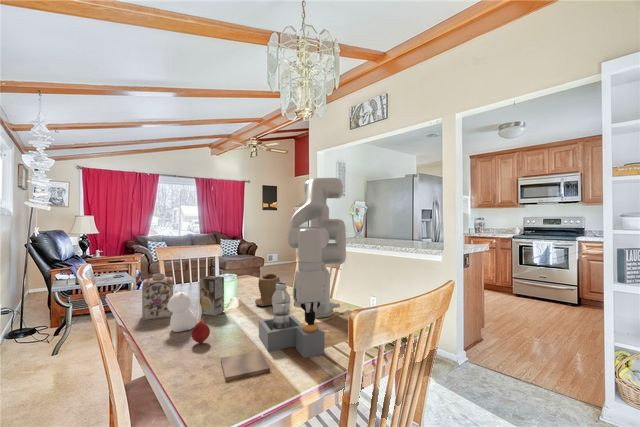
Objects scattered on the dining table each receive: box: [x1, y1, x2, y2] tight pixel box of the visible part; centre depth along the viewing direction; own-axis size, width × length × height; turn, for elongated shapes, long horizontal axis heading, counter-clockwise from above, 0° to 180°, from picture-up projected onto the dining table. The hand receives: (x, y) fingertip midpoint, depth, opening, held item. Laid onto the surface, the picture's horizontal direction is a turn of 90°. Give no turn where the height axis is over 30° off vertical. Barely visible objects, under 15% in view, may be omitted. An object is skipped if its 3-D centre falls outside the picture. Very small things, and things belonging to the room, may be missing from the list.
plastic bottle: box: [271, 281, 291, 330], centre depth 105 cm, size 6×7×20 cm
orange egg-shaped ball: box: [301, 320, 319, 332], centre depth 96 cm, size 5×5×6 cm
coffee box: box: [199, 275, 225, 317], centre depth 135 cm, size 9×6×16 cm
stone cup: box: [254, 272, 281, 307], centre depth 148 cm, size 15×12×15 cm
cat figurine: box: [167, 289, 203, 333], centre depth 116 cm, size 9×12×15 cm
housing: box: [258, 314, 325, 359], centre depth 101 cm, size 16×22×7 cm
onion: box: [191, 319, 211, 345], centre depth 102 cm, size 6×6×8 cm
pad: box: [220, 350, 271, 382], centre depth 87 cm, size 12×12×1 cm
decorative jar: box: [141, 272, 174, 321], centre depth 132 cm, size 12×12×18 cm
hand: (309, 323), depth 96 cm, fingers closed
